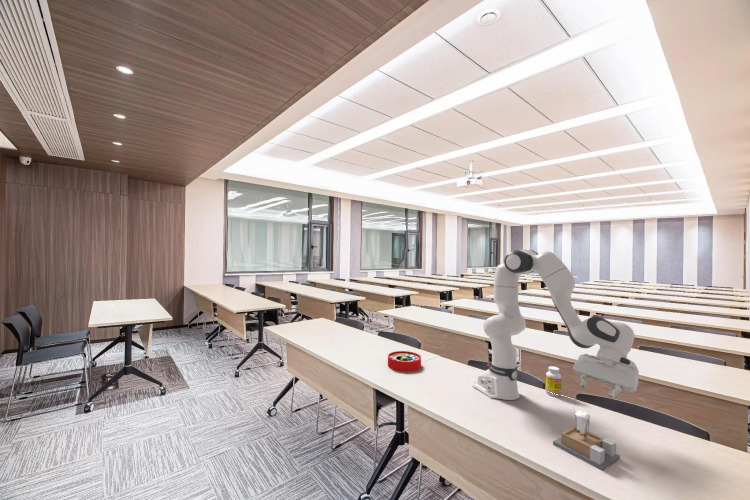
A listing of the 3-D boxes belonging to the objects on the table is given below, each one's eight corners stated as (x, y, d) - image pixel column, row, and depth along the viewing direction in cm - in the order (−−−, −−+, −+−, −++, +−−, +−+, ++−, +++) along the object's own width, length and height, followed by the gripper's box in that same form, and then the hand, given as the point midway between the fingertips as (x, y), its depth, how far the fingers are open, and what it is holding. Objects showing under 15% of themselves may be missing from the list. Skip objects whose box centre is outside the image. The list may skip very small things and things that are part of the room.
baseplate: (553, 444, 117) (553, 430, 117) (570, 435, 123) (571, 421, 123) (602, 470, 103) (602, 454, 103) (619, 458, 109) (620, 443, 109)
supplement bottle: (554, 397, 155) (555, 371, 155) (542, 392, 161) (543, 366, 161) (564, 395, 157) (564, 369, 157) (552, 390, 164) (552, 364, 164)
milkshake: (573, 431, 118) (573, 404, 118) (590, 437, 114) (591, 409, 114) (571, 437, 114) (571, 409, 114) (589, 443, 111) (589, 414, 111)
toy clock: (396, 349, 208) (426, 354, 198) (396, 358, 208) (425, 364, 198) (382, 357, 191) (413, 364, 181) (381, 367, 191) (413, 374, 181)
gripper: (578, 348, 132) (564, 376, 127) (639, 363, 114) (626, 397, 109) (583, 357, 134) (570, 385, 129) (644, 374, 117) (631, 407, 111)
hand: (596, 391), depth 119 cm, fingers open, 8 cm apart
